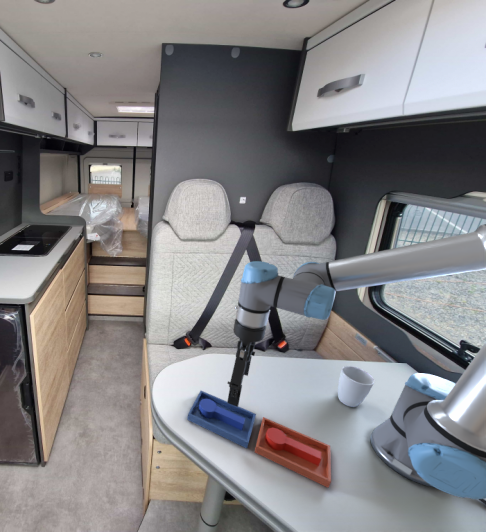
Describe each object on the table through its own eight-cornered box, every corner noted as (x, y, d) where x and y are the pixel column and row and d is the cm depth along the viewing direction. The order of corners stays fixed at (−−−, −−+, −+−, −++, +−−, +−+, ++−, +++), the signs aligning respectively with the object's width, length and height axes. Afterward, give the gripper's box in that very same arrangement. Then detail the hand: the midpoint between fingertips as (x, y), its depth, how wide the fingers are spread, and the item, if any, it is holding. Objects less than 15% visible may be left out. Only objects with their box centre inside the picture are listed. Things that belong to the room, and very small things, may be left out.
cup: (368, 413, 91) (380, 387, 87) (338, 408, 92) (349, 381, 88) (356, 393, 98) (366, 368, 94) (328, 388, 100) (337, 363, 96)
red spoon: (318, 454, 77) (321, 447, 76) (318, 470, 73) (321, 463, 72) (266, 431, 83) (268, 424, 82) (263, 444, 79) (265, 438, 78)
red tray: (328, 451, 79) (330, 445, 78) (328, 488, 70) (331, 482, 69) (261, 422, 86) (262, 416, 85) (254, 452, 77) (255, 446, 77)
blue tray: (254, 419, 87) (256, 413, 86) (246, 448, 78) (248, 442, 77) (199, 395, 94) (200, 390, 94) (187, 419, 86) (187, 414, 85)
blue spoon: (244, 421, 85) (246, 415, 84) (240, 434, 81) (242, 427, 81) (201, 402, 91) (202, 396, 90) (196, 413, 87) (197, 407, 86)
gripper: (244, 299, 90) (234, 359, 97) (223, 341, 69) (212, 413, 77) (272, 305, 86) (259, 367, 94) (258, 352, 66) (243, 426, 74)
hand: (238, 388), depth 85 cm, fingers open, 13 cm apart
